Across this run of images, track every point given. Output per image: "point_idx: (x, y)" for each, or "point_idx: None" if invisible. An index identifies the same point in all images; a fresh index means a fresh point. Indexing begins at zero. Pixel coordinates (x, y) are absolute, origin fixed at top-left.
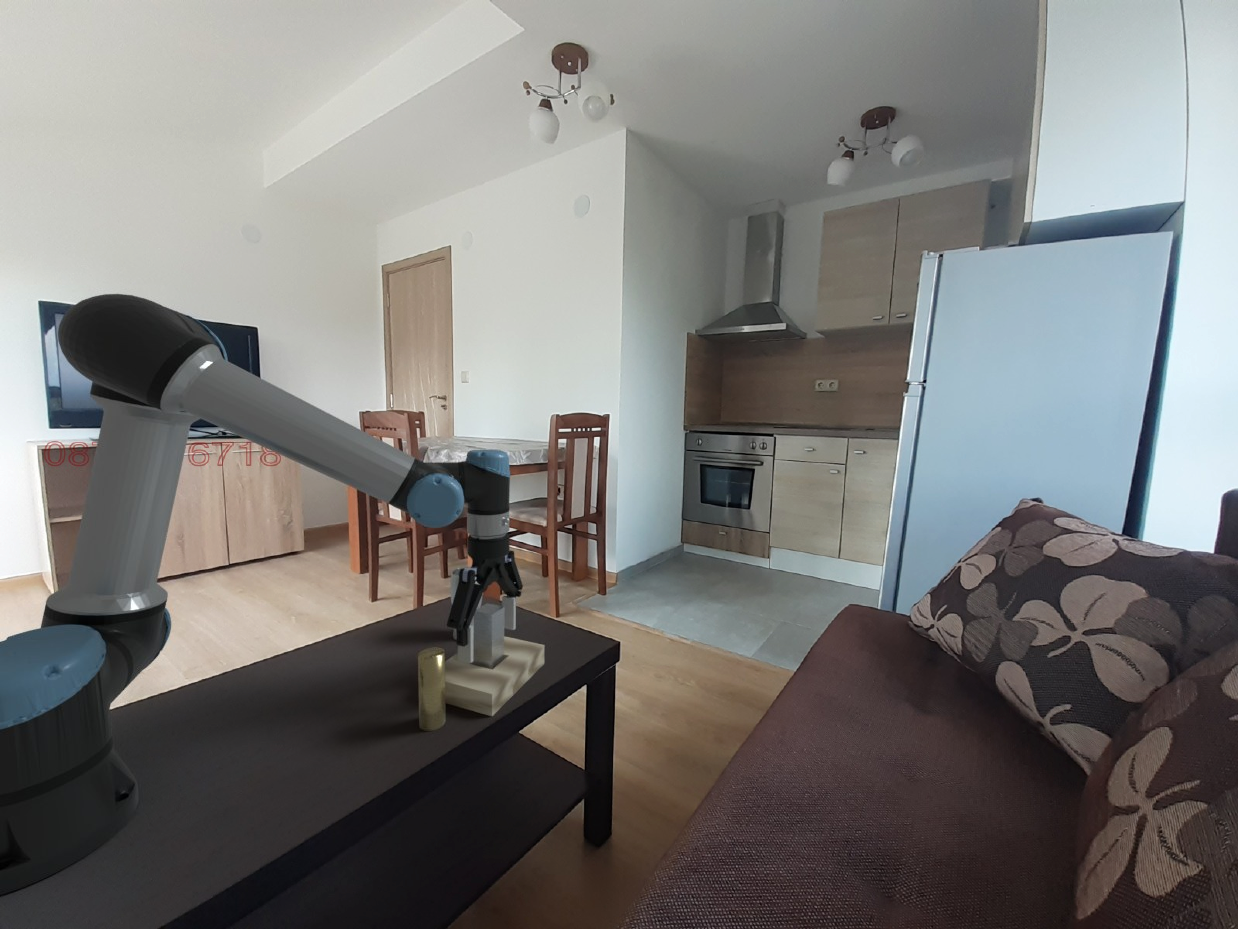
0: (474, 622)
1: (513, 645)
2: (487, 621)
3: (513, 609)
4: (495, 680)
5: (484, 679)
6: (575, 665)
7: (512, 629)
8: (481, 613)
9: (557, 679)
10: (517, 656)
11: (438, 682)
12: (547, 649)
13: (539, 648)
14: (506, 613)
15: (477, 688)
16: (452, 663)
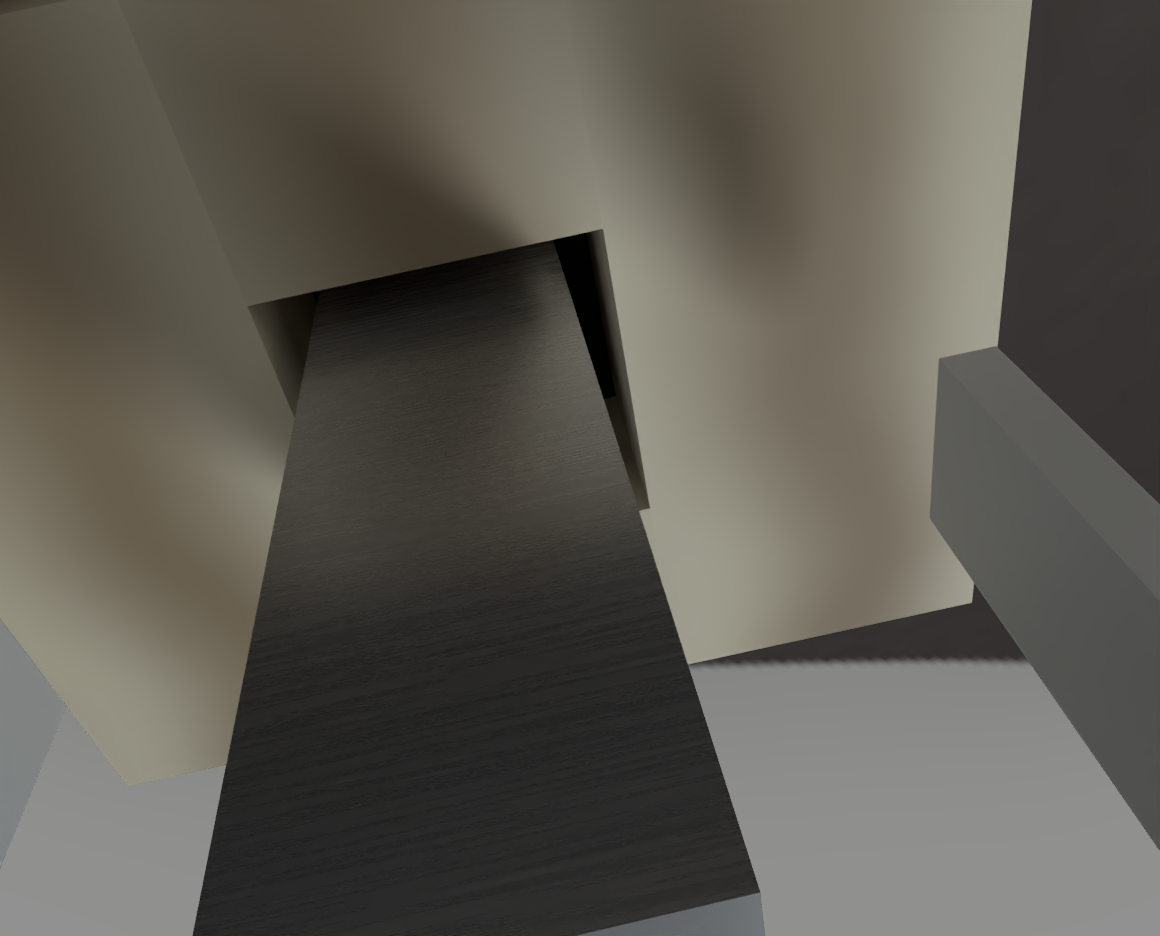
0: (231, 774)
1: (849, 404)
2: None
3: (1102, 760)
4: None
5: (202, 628)
6: (958, 642)
7: (932, 510)
8: None
9: (751, 661)
10: (681, 570)
11: None
12: (1129, 362)
13: (896, 612)
14: (1061, 587)
15: (73, 678)
16: (92, 146)
